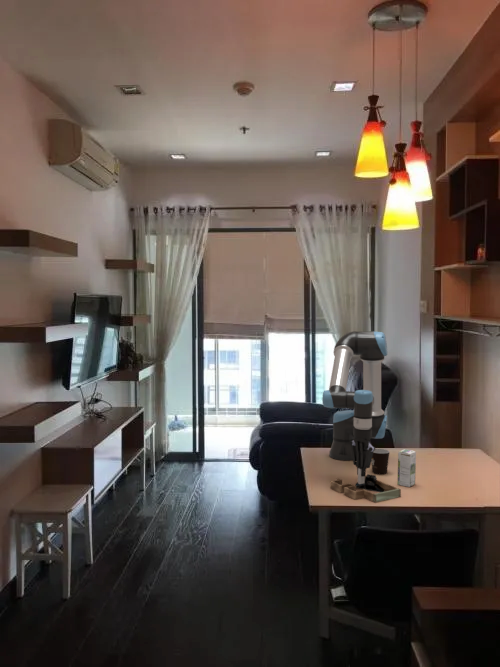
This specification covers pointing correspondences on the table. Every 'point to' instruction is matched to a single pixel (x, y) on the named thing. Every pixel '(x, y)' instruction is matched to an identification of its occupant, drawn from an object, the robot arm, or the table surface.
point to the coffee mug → (380, 461)
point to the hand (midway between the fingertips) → (361, 483)
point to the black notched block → (370, 484)
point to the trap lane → (352, 493)
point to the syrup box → (406, 468)
